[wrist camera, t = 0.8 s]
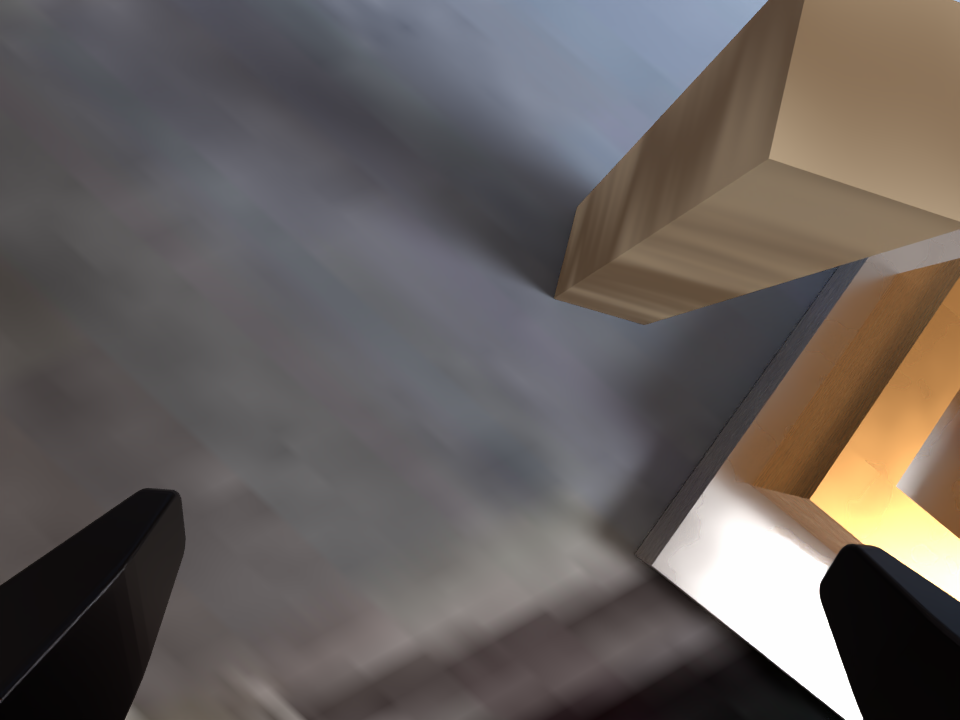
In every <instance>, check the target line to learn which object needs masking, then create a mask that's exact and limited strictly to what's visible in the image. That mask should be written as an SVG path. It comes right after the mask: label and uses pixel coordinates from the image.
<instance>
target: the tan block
mask: <svg viewBox="0 0 960 720" xmlns="http://www.w3.org/2000/svg"><path fill="white" fill-rule="evenodd" d="M959 229H960V3H959V2H956V1H954V0H768V1H767V2H766V4H765V5H764V6H763V7H762V8H761V9H760V10H759V11H758V12H757V13H756V14H755V15H754V17H753V18H752V19H751V20H750V21H749V22H748V23H747V24H746V25H745V26H744V27H743V28H742V29H741V31H740V32H739V33H738V34H737V35H736V36H735V37H734V38H733V39H732V40H731V41H730V42H729V44H728V45H727V46H726V47H725V48H724V49H723V50H722V51H721V52H720V53H719V54H718V55H717V56H716V58H715V59H714V60H713V61H712V62H711V63H710V64H709V65H708V66H707V67H706V68H705V69H704V71H703V72H702V73H701V74H700V75H699V76H698V77H697V78H696V79H695V80H694V81H693V82H692V83H691V85H690V86H689V87H688V88H687V89H686V90H685V91H684V92H683V93H682V94H681V95H680V96H679V98H678V99H677V100H676V101H675V102H674V103H673V104H672V105H671V106H670V107H669V108H668V109H667V110H666V112H665V113H664V114H663V115H662V116H661V117H660V118H659V119H658V120H657V121H656V122H655V123H654V125H653V126H652V127H651V128H650V129H649V130H648V131H647V132H646V133H645V134H644V135H643V136H642V137H641V139H640V140H639V141H638V142H637V143H636V144H635V145H634V146H633V147H632V148H631V149H630V150H629V152H628V153H627V154H626V155H625V156H624V157H623V158H622V159H621V160H620V161H619V162H618V163H617V164H616V166H615V167H614V168H613V169H612V170H611V171H610V172H609V173H608V174H607V175H606V176H605V177H604V179H603V180H602V181H601V182H600V183H599V184H598V185H597V186H596V187H595V188H594V189H593V190H592V191H591V193H590V194H589V195H588V196H587V197H586V198H585V199H584V200H583V201H582V202H581V203H580V204H579V206H578V207H577V210H576V213H575V217H574V221H573V225H572V229H571V233H570V237H569V241H568V245H567V249H566V253H565V257H564V261H563V264H562V268H561V272H560V276H559V280H558V284H557V288H556V292H555V296H554V299H557V300H560V301H564V302H567V303H571V304H574V305H578V306H581V307H584V308H588V309H591V310H595V311H598V312H602V313H605V314H609V315H612V316H615V317H619V318H622V319H626V320H629V321H633V322H636V323H639V324H643V325H646V324H649V323H653V322H656V321H659V320H662V319H666V318H669V317H672V316H676V315H679V314H682V313H686V312H689V311H692V310H695V309H699V308H702V307H705V306H709V305H712V304H715V303H719V302H722V301H725V300H728V299H732V298H735V297H738V296H742V295H745V294H748V293H751V292H755V291H758V290H761V289H765V288H768V287H771V286H775V285H778V284H781V283H784V282H788V281H791V280H794V279H798V278H801V277H804V276H807V275H811V274H814V273H817V272H821V271H824V270H827V269H831V268H834V267H837V266H840V265H844V264H847V263H850V262H854V261H857V260H860V259H864V258H867V257H870V256H873V255H877V254H880V253H883V252H887V251H890V250H893V249H896V248H900V247H903V246H906V245H910V244H913V243H916V242H920V241H923V240H926V239H929V238H933V237H936V236H939V235H943V234H946V233H949V232H952V231H956V230H959Z"/></svg>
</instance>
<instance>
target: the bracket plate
mask: <svg viewBox="0 0 960 720" xmlns="http://www.w3.org/2000/svg"><path fill="white" fill-rule="evenodd" d="M847 544H864V545H873V546H877V547H879V548H881V549H883V550H884V551H886V552H887V553H889V554H890V555H892V556H893V557H895V558H896V559H898V560H899V561H901V562H902V563H904V564H905V565H907V566H908V567H910V568H911V569H913V570H914V571H915V572H917V573H918V574H920V575H921V576H923V577H924V578H926V579H927V580H929V581H930V582H932V583H933V584H935V585H936V586H938V587H939V588H941V589H942V590H944V591H945V592H947V593H948V594H950V595H951V596H953V597H954V598H956V599H957V600H958V601H960V229H959V230H956V231H952V232H949V233H946V234H943V235H939V236H936V237H933V238H929V239H926V240H923V241H920V242H916V243H913V244H910V245H906V246H903V247H900V248H896V249H893V250H890V251H887V252H883V253H880V254H877V255H873V256H870V257H867V258H864V259H860V260H857V261H854V262H850V263H847V264H844V265H840V266H839V267H838V268H837V270H836V271H835V273H834V274H833V276H832V277H831V278H830V280H829V281H828V283H827V284H826V285H825V287H824V288H823V290H822V291H821V292H820V294H819V295H818V297H817V298H816V299H815V301H814V302H813V304H812V305H811V307H810V308H809V309H808V311H807V312H806V314H805V315H804V316H803V318H802V319H801V321H800V322H799V323H798V325H797V326H796V328H795V329H794V330H793V332H792V333H791V335H790V336H789V337H788V339H787V340H786V342H785V343H784V345H783V346H782V347H781V349H780V350H779V352H778V353H777V354H776V356H775V357H774V359H773V360H772V361H771V363H770V364H769V366H768V367H767V368H766V370H765V371H764V373H763V374H762V376H761V377H760V378H759V380H758V381H757V383H756V384H755V385H754V387H753V388H752V390H751V391H750V392H749V394H748V395H747V397H746V398H745V399H744V401H743V402H742V404H741V405H740V407H739V408H738V409H737V411H736V412H735V414H734V415H733V416H732V418H731V419H730V421H729V422H728V423H727V425H726V426H725V428H724V429H723V430H722V432H721V433H720V435H719V436H718V438H717V439H716V440H715V442H714V443H713V445H712V446H711V447H710V449H709V450H708V452H707V453H706V454H705V456H704V457H703V459H702V460H701V461H700V463H699V464H698V466H697V467H696V469H695V470H694V471H693V473H692V474H691V476H690V477H689V478H688V480H687V481H686V483H685V484H684V485H683V487H682V488H681V490H680V491H679V492H678V494H677V495H676V497H675V498H674V500H673V501H672V502H671V504H670V505H669V507H668V508H667V509H666V511H665V512H664V514H663V515H662V516H661V518H660V519H659V521H658V522H657V523H656V525H655V526H654V528H653V529H652V530H651V532H650V533H649V535H648V536H647V538H646V539H645V540H644V542H643V543H642V545H641V546H640V547H639V549H638V550H637V552H636V553H635V555H636V556H637V557H639V558H640V559H641V560H642V561H644V562H645V563H646V564H648V565H649V566H650V567H651V568H653V569H654V570H655V571H656V572H658V573H659V574H660V575H661V576H663V577H664V578H665V579H666V580H668V581H669V582H670V583H671V584H673V585H674V586H675V587H677V588H678V589H679V590H680V591H682V592H683V593H684V594H685V595H687V596H688V597H689V598H690V599H692V600H693V601H694V602H695V603H697V604H698V605H699V606H700V607H702V608H703V609H704V610H706V611H707V612H708V613H709V614H711V615H712V616H713V617H714V618H716V619H717V620H718V621H719V622H721V623H722V624H723V625H724V626H726V627H727V628H728V629H729V630H731V631H732V632H733V633H735V634H736V635H737V636H738V637H740V638H741V639H742V640H743V641H745V642H746V643H747V644H748V645H750V646H751V647H752V648H753V649H755V650H756V651H757V652H758V653H760V654H761V655H762V656H764V657H765V658H766V659H767V660H769V661H770V662H771V663H772V664H774V665H775V666H776V667H777V668H779V669H780V670H781V671H782V672H784V673H785V674H786V675H787V676H789V677H790V678H791V679H793V680H794V681H795V682H796V683H798V684H799V685H800V686H801V687H803V688H804V689H805V690H806V691H808V692H809V693H810V694H811V695H813V696H814V697H815V698H816V699H818V700H819V701H820V702H821V703H823V704H824V705H825V706H827V707H828V708H829V709H830V710H832V711H833V712H834V713H835V714H837V715H838V716H839V717H840V718H842V719H843V720H863V718H862V716H861V714H860V711H859V709H858V707H857V704H856V701H855V699H854V696H853V693H852V690H851V688H850V685H849V682H848V679H847V676H846V673H845V670H844V667H843V665H842V662H841V659H840V656H839V653H838V650H837V647H836V644H835V642H834V639H833V636H832V633H831V630H830V627H829V624H828V621H827V619H826V616H825V613H824V610H823V607H822V604H821V601H820V597H819V585H820V582H821V580H822V578H823V576H824V575H825V573H826V572H827V570H828V568H829V567H830V565H831V564H832V562H833V560H834V559H835V557H836V556H837V554H838V552H839V551H840V549H841V548H842V547H843V546H845V545H847Z"/></svg>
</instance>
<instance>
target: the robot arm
mask: <svg viewBox="0 0 960 720" xmlns="http://www.w3.org/2000/svg"><path fill="white" fill-rule="evenodd" d="M185 540H186V538H185V528H184V519H183V509H182V501H181V497H180V495H179V493H178V492H177V491H175V490H167V489H154V488H145V489H142V490H139V491H138V492H136V493H135V494H133V495H132V496H130V497H129V498H127V499H126V500H124V501H123V502H122V503H120V504H119V505H117V506H116V507H114V508H113V509H111V510H110V511H108V512H107V513H105V514H104V515H103V516H101V517H100V518H98V519H97V520H95V521H94V522H92V523H91V524H89V525H88V526H86V527H85V528H84V529H82V530H81V531H79V532H78V533H76V534H75V535H73V536H72V537H70V538H69V539H67V540H66V541H65V542H63V543H62V544H60V545H59V546H57V547H56V548H54V549H53V550H51V551H50V552H49V553H47V554H46V555H44V556H43V557H41V558H40V559H38V560H37V561H35V562H34V563H32V564H31V565H30V566H28V567H27V568H25V569H24V570H22V571H21V572H19V573H18V574H16V575H15V576H13V577H12V578H11V579H9V580H8V581H6V582H5V583H3V584H2V585H0V720H125V718H126V715H127V713H128V711H129V709H130V707H131V704H132V702H133V700H134V698H135V695H136V693H137V691H138V688H139V686H140V683H141V681H142V679H143V676H144V673H145V671H146V668H147V665H148V662H149V659H150V656H151V653H152V650H153V647H154V644H155V641H156V638H157V635H158V632H159V629H160V625H161V622H162V619H163V616H164V613H165V610H166V607H167V604H168V601H169V598H170V595H171V592H172V589H173V586H174V583H175V579H176V576H177V573H178V570H179V567H180V564H181V561H182V558H183V554H184V550H185ZM819 597H820V601H821V604H822V607H823V610H824V613H825V616H826V619H827V621H828V624H829V627H830V630H831V633H832V636H833V639H834V642H835V644H836V647H837V650H838V653H839V656H840V659H841V662H842V665H843V667H844V670H845V673H846V676H847V679H848V682H849V685H850V688H851V690H852V693H853V696H854V699H855V701H856V704H857V707H858V709H859V711H860V714H861V716H862V718H863V720H960V601H958V600H957V599H956V598H954V597H953V596H951V595H950V594H948V593H947V592H945V591H944V590H942V589H941V588H939V587H938V586H936V585H935V584H933V583H932V582H930V581H929V580H927V579H926V578H924V577H923V576H921V575H920V574H918V573H917V572H915V571H914V570H913V569H911V568H910V567H908V566H907V565H905V564H904V563H902V562H901V561H899V560H898V559H896V558H895V557H893V556H892V555H890V554H889V553H887V552H886V551H884V550H883V549H881V548H879V547H877V546H873V545H864V544H847V545H845V546H843V547H842V548H841V549H840V551H839V552H838V554H837V556H836V557H835V559H834V560H833V562H832V564H831V565H830V567H829V568H828V570H827V572H826V573H825V575H824V576H823V578H822V580H821V582H820V585H819Z"/></svg>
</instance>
